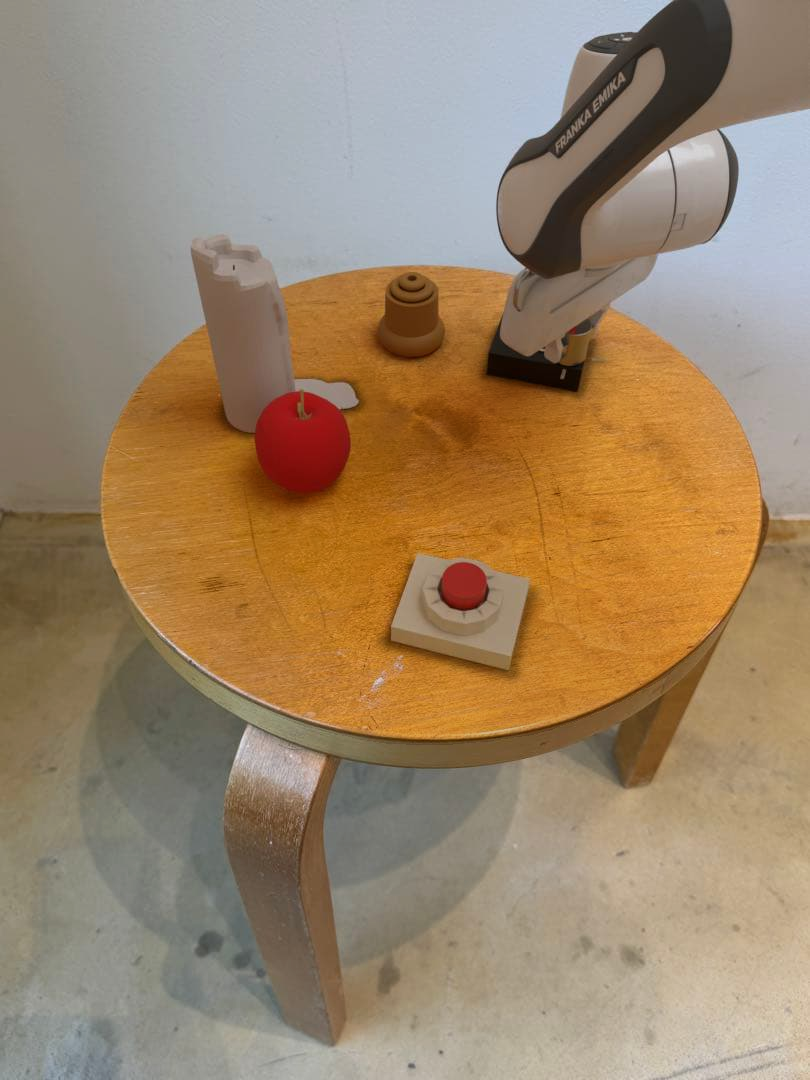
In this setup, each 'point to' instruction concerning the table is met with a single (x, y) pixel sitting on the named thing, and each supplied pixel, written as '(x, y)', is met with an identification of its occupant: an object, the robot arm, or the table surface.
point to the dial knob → (576, 343)
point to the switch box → (460, 614)
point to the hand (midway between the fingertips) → (570, 347)
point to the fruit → (302, 442)
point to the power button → (463, 585)
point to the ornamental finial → (411, 316)
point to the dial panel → (532, 366)
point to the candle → (250, 332)
